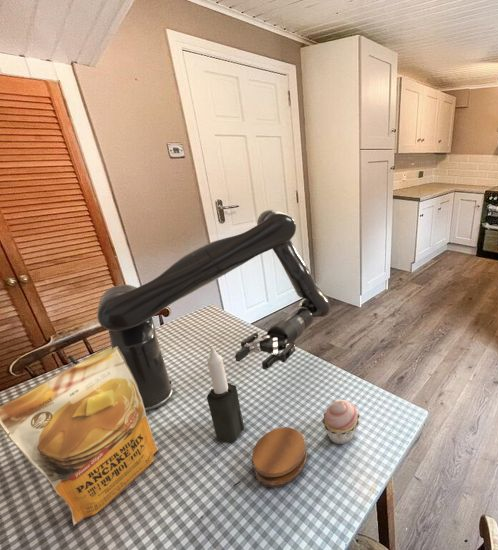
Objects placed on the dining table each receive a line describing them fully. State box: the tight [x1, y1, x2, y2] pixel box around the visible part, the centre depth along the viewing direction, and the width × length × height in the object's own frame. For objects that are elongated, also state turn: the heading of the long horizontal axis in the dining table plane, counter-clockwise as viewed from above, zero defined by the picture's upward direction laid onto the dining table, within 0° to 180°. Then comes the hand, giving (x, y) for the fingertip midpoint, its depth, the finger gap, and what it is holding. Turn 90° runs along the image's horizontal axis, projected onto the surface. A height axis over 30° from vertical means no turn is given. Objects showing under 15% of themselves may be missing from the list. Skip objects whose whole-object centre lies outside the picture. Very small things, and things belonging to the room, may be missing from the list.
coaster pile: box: [251, 426, 308, 489], centre depth 66 cm, size 12×11×4 cm
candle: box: [206, 346, 245, 444], centre depth 69 cm, size 5×5×25 cm
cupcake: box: [321, 399, 361, 445], centre depth 72 cm, size 9×9×10 cm
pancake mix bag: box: [0, 345, 159, 526], centre depth 57 cm, size 7×19×28 cm, turn 160°
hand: (249, 362), depth 77 cm, fingers open, 8 cm apart
